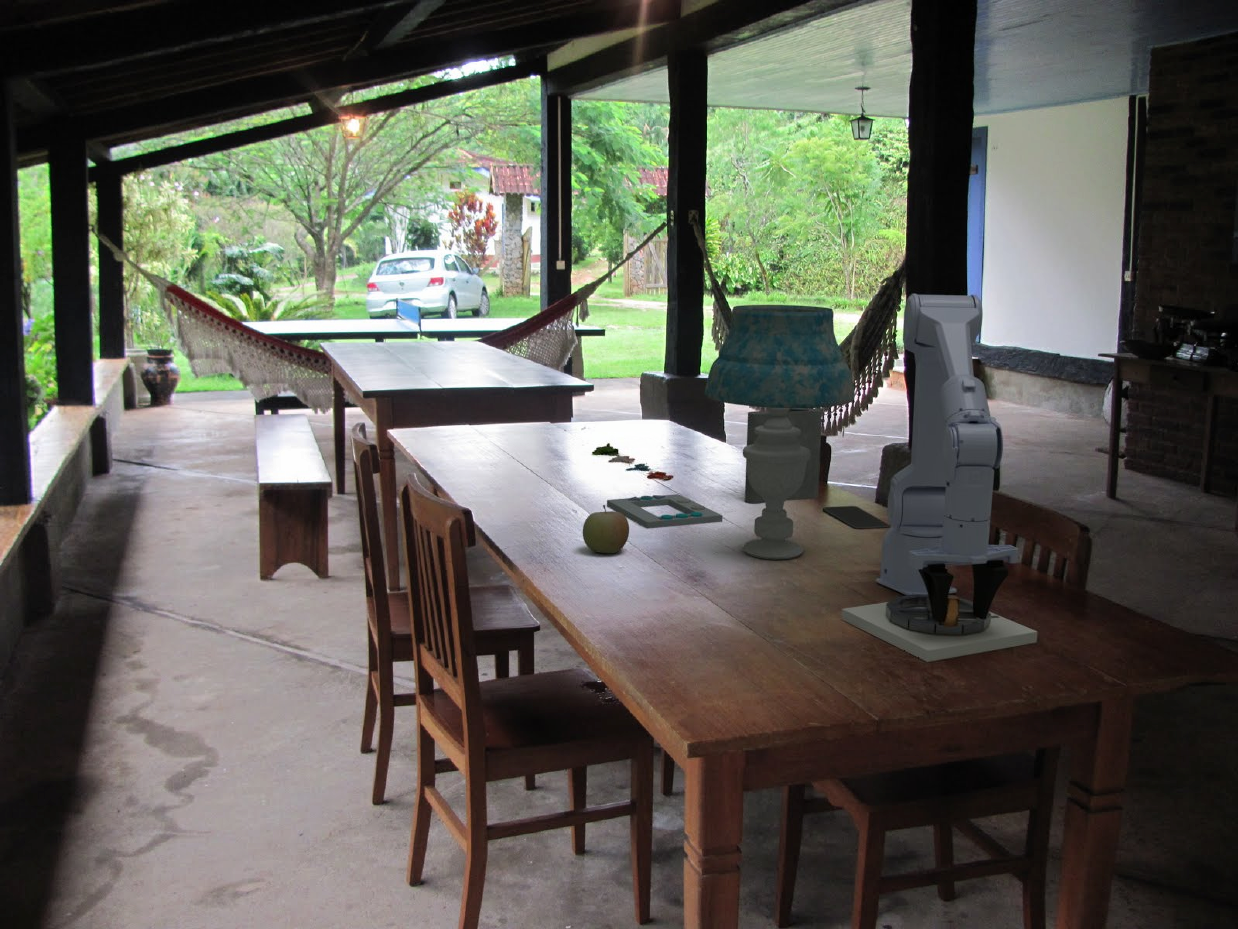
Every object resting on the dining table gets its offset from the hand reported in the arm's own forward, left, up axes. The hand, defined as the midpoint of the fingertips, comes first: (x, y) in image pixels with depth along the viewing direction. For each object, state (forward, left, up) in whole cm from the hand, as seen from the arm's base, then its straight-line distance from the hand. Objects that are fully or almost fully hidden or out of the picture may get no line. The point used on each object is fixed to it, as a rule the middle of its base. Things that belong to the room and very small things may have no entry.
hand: (959, 618), depth 159 cm
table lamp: (-47, +2, -4) cm, 48 cm away
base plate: (-5, +1, -4) cm, 7 cm away
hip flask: (-80, +25, -4) cm, 84 cm away
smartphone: (-61, +29, -4) cm, 68 cm away
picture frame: (-78, -2, -4) cm, 79 cm away
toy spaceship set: (-121, +12, -4) cm, 122 cm away
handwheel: (-5, +1, -2) cm, 6 cm away
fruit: (-58, -23, -4) cm, 63 cm away
